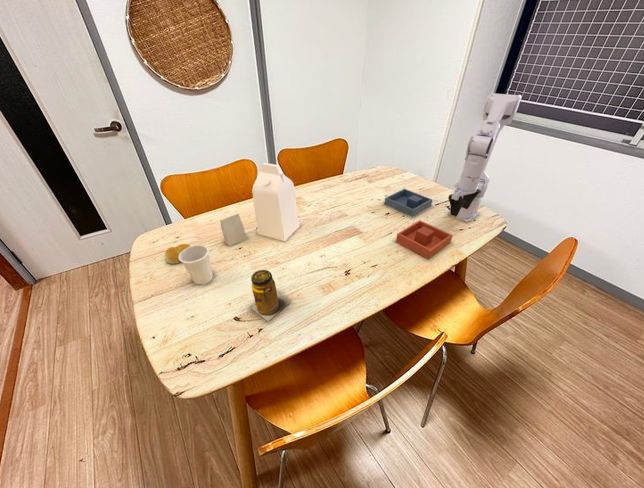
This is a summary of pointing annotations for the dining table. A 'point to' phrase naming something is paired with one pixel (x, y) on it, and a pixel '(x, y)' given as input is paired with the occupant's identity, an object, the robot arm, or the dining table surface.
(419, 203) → the slate block
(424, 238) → the terracotta block
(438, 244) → the terracotta bin
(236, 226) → the grey wedge block
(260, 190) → the milk
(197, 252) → the dixie cup
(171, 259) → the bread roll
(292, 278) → the dining table surface
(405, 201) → the slate bin
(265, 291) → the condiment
